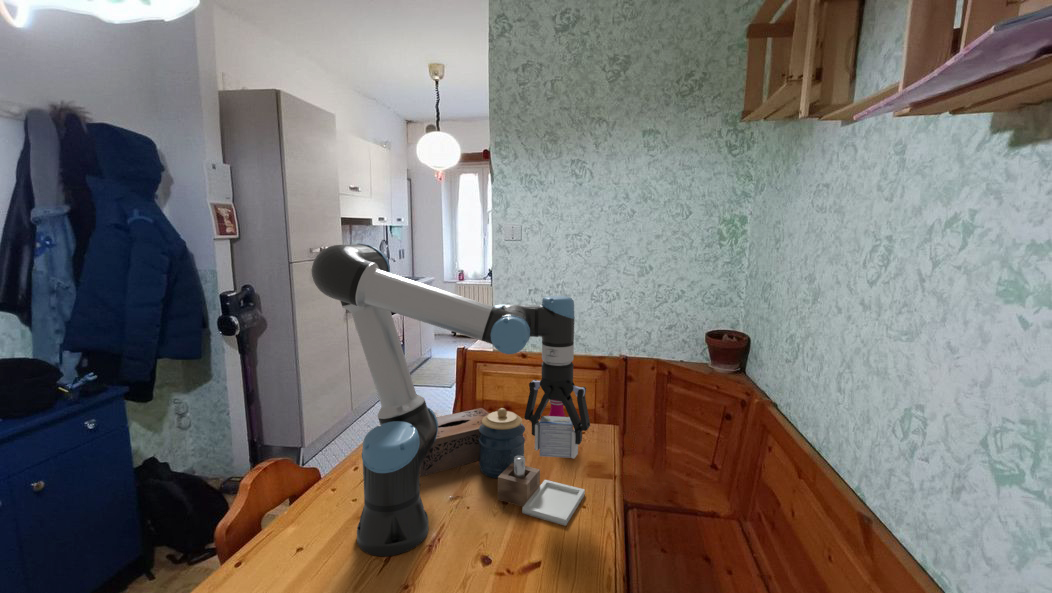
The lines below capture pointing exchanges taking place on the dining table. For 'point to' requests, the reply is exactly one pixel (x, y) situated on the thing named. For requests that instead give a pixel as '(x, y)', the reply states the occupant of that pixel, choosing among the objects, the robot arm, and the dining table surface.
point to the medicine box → (555, 436)
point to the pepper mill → (556, 408)
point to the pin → (519, 467)
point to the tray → (554, 502)
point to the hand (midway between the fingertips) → (556, 451)
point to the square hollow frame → (518, 485)
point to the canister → (500, 441)
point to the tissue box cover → (455, 441)
